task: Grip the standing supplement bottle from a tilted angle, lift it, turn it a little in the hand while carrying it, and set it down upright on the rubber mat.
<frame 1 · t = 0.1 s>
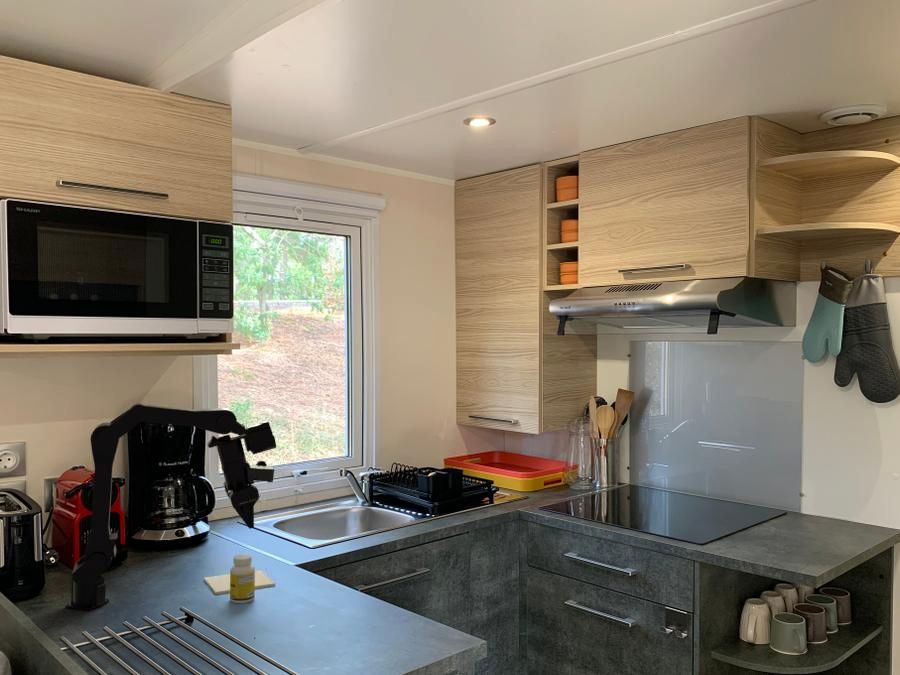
hand: (249, 523, 180), 15 cm above the counter, tool pointing down, fingers open, 9 cm apart
rubber mat: (239, 582, 184), on the counter
supplement bottle: (242, 600, 172), on the counter
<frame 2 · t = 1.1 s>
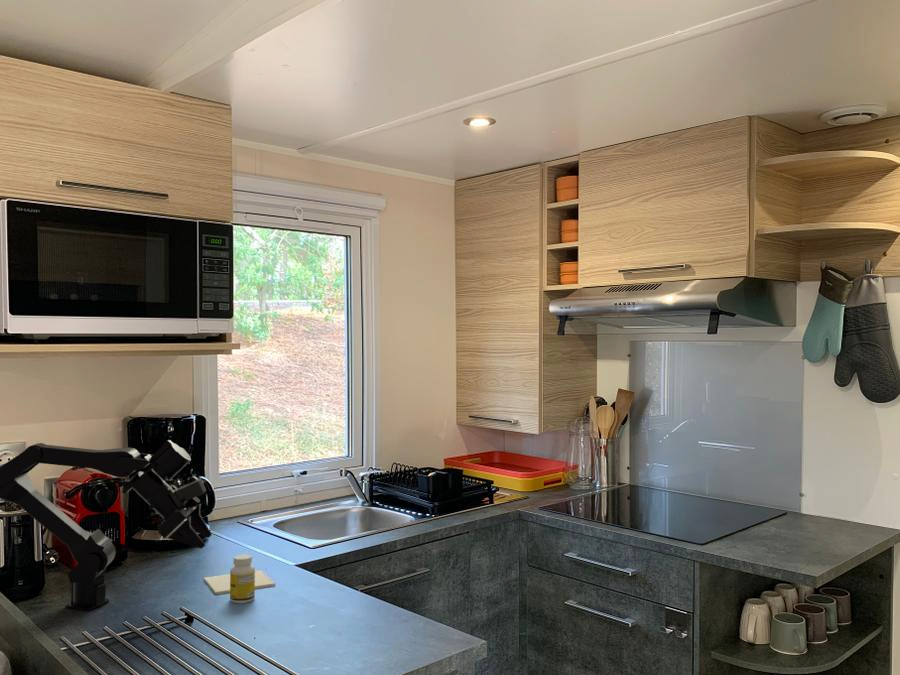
hand: (206, 541, 171), 13 cm above the counter, tool tilted 45°, fingers open, 9 cm apart
nothing on the counter moved.
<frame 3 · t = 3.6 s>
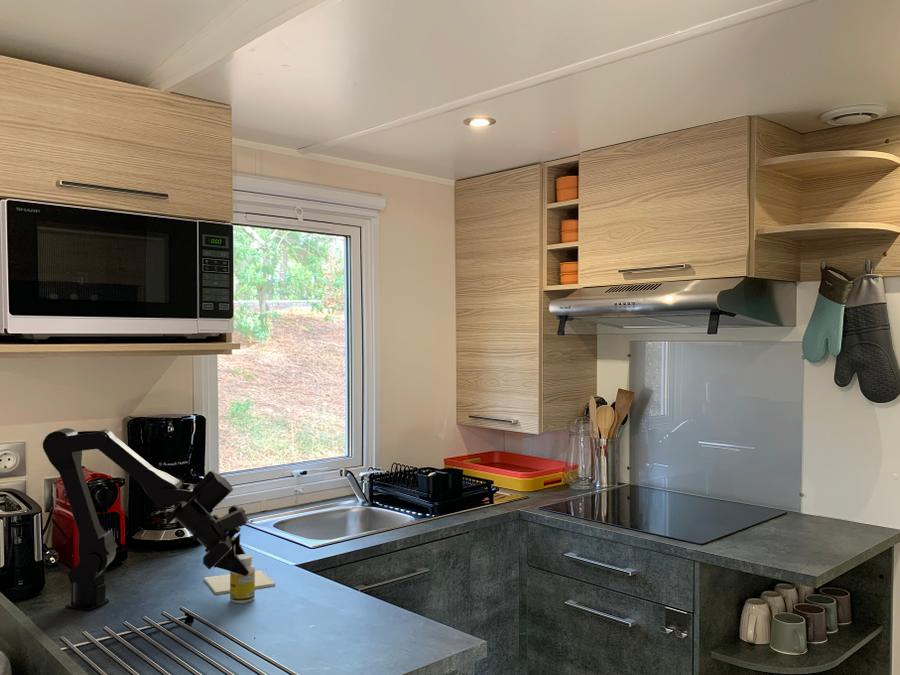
hand: (249, 570, 173), 7 cm above the counter, tool tilted 45°, fingers closed on supplement bottle, 5 cm apart
supplement bottle: (242, 600, 172), on the counter, touching gripper
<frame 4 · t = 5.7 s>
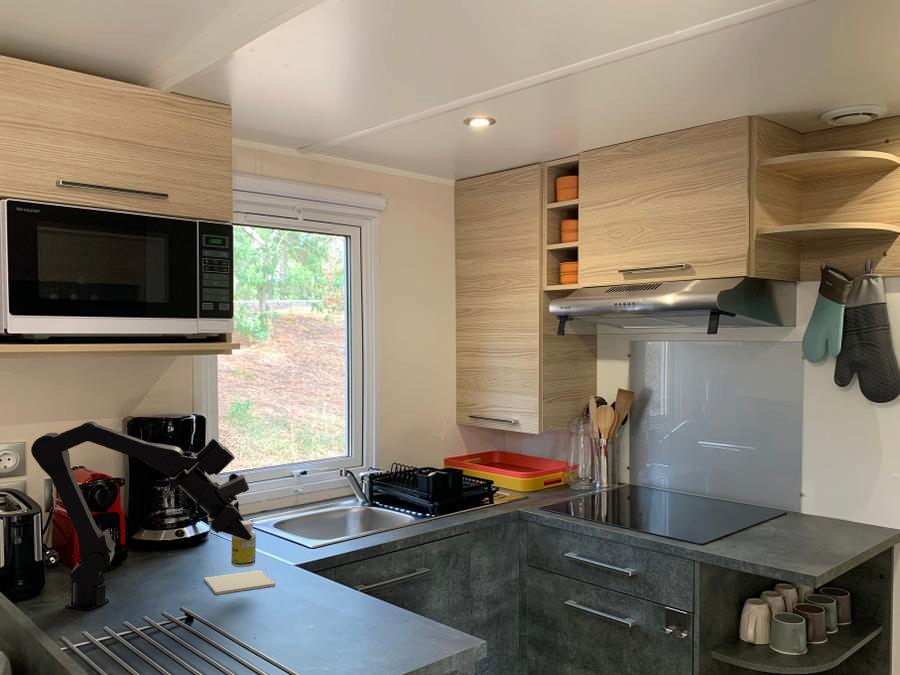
hand: (250, 535, 177), 13 cm above the counter, tool tilted 45°, fingers closed on supplement bottle, 5 cm apart
supplement bottle: (243, 565, 177), point 6 cm above the counter, touching gripper
when the fingers open (8 cm above the counter, at t = 7.9 s): supplement bottle stays where it is, resting on rubber mat.
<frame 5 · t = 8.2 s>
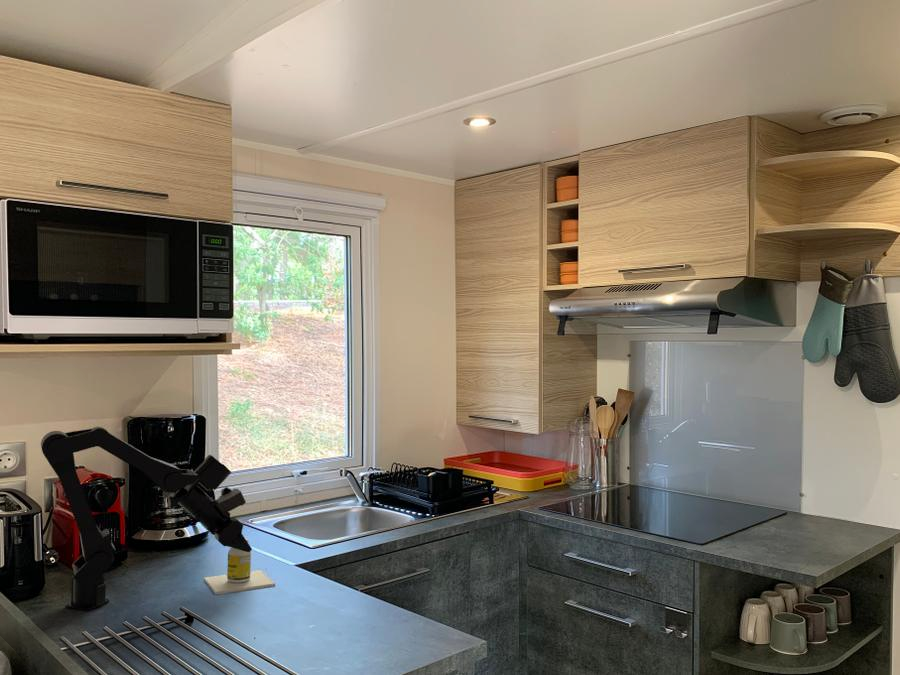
hand: (245, 546, 185), 9 cm above the counter, tool tilted 45°, fingers open, 8 cm apart
supplement bottle: (238, 580, 184), point 1 cm above the counter, touching rubber mat
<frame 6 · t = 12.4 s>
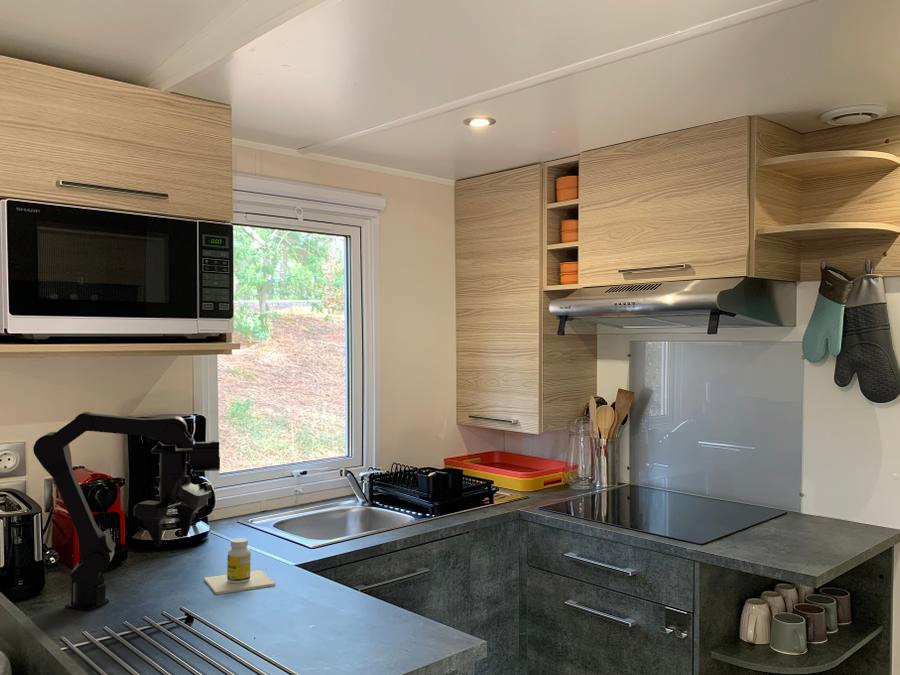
hand: (171, 540, 173), 13 cm above the counter, tool pointing down, fingers open, 9 cm apart
nothing on the counter moved.
at the end: supplement bottle inside the target area on the rubber mat (0.1 cm from its centre), point 0.4 cm above the rubber mat's base; supplement bottle tilted 0°; the gripper is holding nothing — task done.
